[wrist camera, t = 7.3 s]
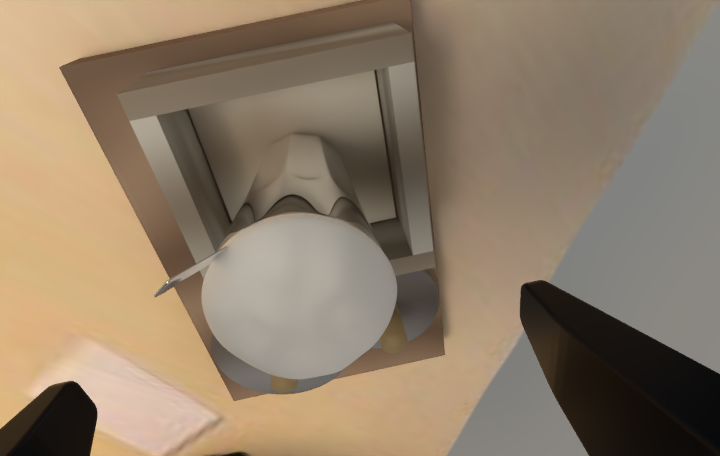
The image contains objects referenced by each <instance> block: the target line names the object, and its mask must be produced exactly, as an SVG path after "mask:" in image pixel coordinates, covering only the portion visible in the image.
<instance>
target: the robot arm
mask: <svg viewBox="0 0 720 456" xmlns="http://www.w3.org/2000/svg"><path fill="white" fill-rule="evenodd" d="M520 318H521V322H522V325H523V327H524V330H525V332H526V334H527V336H528V339H529V341H530V343H531V345H532V347H533V350H534V352H535V354H536V356H537V359H538V361H539V363H540V366H541V368H542V370H543V372H544V374H545V377H546V379H547V381H548V384H549V386H550V388H551V390H552V392H553V394H554V396H555V398H556V399H557V401H558V403H559V405H560V407H561V408H562V410H563V412H564V413H565V415H566V417H567V419H568V420H569V422H570V424H571V426H572V427H573V429H574V431H575V432H576V434H577V436H578V437H579V439H580V441H581V442H582V444H583V446H584V448H585V449H586V451H587V453H588V455H589V456H720V374H719V373H717V372H715V371H713V370H711V369H709V368H707V367H706V366H704V365H702V364H700V363H698V362H696V361H694V360H692V359H691V358H689V357H687V356H685V355H683V354H681V353H679V352H678V351H676V350H674V349H672V348H670V347H668V346H666V345H664V344H662V343H661V342H659V341H657V340H655V339H653V338H651V337H649V336H648V335H646V334H644V333H642V332H640V331H638V330H636V329H634V328H632V327H631V326H628V325H627V324H625V323H623V322H621V321H619V320H618V319H616V318H614V317H612V316H610V315H608V314H606V313H604V312H603V311H601V310H599V309H597V308H595V307H593V306H591V305H589V304H588V303H586V302H584V301H582V300H580V299H578V298H576V297H574V296H572V295H571V294H569V293H567V292H565V291H563V290H561V289H559V288H557V287H556V286H554V285H552V284H550V283H548V282H546V281H543V280H538V281H534V282H529V283H525V284H523V285H522V287H521V298H520ZM96 422H97V408H96V406H95V404H94V403H93V401H92V400H91V399H90V398H89V396H88V395H87V394H86V393H85V391H84V390H83V389H82V388H81V387H80V385H79V384H78V383H76V382H74V381H68V382H63V383H58V384H54V385H52V386H50V387H48V388H47V389H46V390H44V391H43V392H42V393H41V394H40V395H39V396H38V397H36V398H35V399H34V400H33V401H32V402H31V403H30V404H28V405H27V406H26V407H25V408H24V409H23V410H22V411H20V412H19V413H18V414H17V415H16V416H15V417H14V418H12V419H11V420H10V421H9V422H8V423H7V424H6V425H4V426H3V427H2V428H1V429H0V456H90V452H91V447H92V442H93V437H94V432H95V427H96ZM233 456H244V455H240V454H239V455H233Z"/></svg>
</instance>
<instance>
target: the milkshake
mask: <svg viewBox="0 0 720 456" xmlns="http://www.w3.org/2000/svg"><path fill="white" fill-rule="evenodd" d="M209 264H210V266H209V268H208V270H207V272H206V275H205V277H204V281H203V285H202V293H201V300H202V308H203V312H204V315H205V318H206V321H207V323H208V325H209V327H210V329H211V331H212V333H213V334H214V336H215V337H216V339H217V340H218V341H219V343H220V344H221V345H222V346H223V347H224V348H225V349H226V350H228V351H229V352H230V353H232V354H233V355H235V356H236V357H238V358H239V359H241V360H243V361H244V362H246V363H248V364H249V365H251V366H253V367H255V368H257V369H259V370H261V371H263V372H265V373H268V374H271V375H274V376H277V377H281V378H287V379H308V378H314V377H319V376H324V375H329V374H333V373H336V372H339V371H341V370H343V369H344V368H346V367H347V366H348V365H350V364H351V363H352V362H354V361H355V360H356V359H357V358H359V357H360V356H361V355H363V354H364V353H365V352H367V351H368V350H369V349H370V348H371V347H372V346H373V345H374V344H375V343H376V342H377V341H378V340H379V339H380V337H381V336H382V334H383V333H384V331H385V330H386V328H387V326H388V324H389V322H390V320H391V317H392V314H393V311H394V308H395V304H396V299H397V282H396V277H395V273H394V270H393V268H392V266H391V264H390V262H389V260H388V258H387V257H386V255H385V253H384V251H383V249H382V247H381V245H380V243H379V241H378V239H377V237H376V235H375V233H374V231H373V229H372V227H371V225H370V223H369V221H368V219H367V217H366V215H365V213H364V211H363V209H362V206H361V204H360V202H359V199H358V197H357V195H356V192H355V190H354V188H353V185H352V183H351V181H350V178H349V176H348V174H347V171H346V169H345V166H344V164H343V162H342V159H341V157H340V155H339V153H338V152H337V151H336V150H335V149H334V148H332V147H331V146H330V145H329V144H328V143H327V142H325V141H324V140H323V139H322V138H321V137H320V136H318V135H308V134H297V133H291V134H289V135H287V136H285V137H284V138H282V139H280V140H279V141H277V142H275V143H273V144H272V145H270V146H269V147H268V148H267V151H266V153H265V155H264V158H263V160H262V162H261V164H260V167H259V169H258V171H257V174H256V176H255V178H254V181H253V183H252V185H251V187H250V190H249V192H248V194H247V196H246V198H245V200H244V202H243V204H242V205H241V207H240V209H239V211H238V213H237V214H236V216H235V218H234V220H233V222H232V224H231V226H230V227H229V229H228V231H227V233H226V235H225V237H224V239H223V241H222V243H221V245H220V246H219V248H218V250H217V252H215V253H214V254H212V255H210V256H208V257H207V258H205V259H203V260H202V261H200V262H198V263H196V264H195V265H193V266H191V267H190V268H188V269H186V270H184V271H183V272H181V273H179V274H178V275H176V276H174V277H172V278H171V279H169V280H168V281H166V282H165V283H164V284H163V285H162V287H161V288H160V289H159V290H158V291H157V292H156V294H155V295H154V297H157V296H159V295H161V294H162V293H164V292H166V291H167V290H169V289H170V288H172V287H174V286H175V285H177V284H179V283H180V282H182V281H183V280H185V279H187V278H188V277H190V276H192V275H193V274H195V273H196V272H198V271H200V270H201V269H203V268H204V267H206V266H208V265H209Z"/></svg>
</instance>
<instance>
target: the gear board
mask: <svg viewBox="0 0 720 456" xmlns="http://www.w3.org/2000/svg"><path fill="white" fill-rule="evenodd" d="M59 68H60V70H61V72H62V74H63V75H64V77H65V79H66V81H67V83H68V85H69V87H70V89H71V91H72V93H73V95H74V96H75V98H76V100H77V102H78V104H79V106H80V108H81V110H82V112H83V114H84V116H85V117H86V119H87V121H88V123H89V125H90V127H91V129H92V131H93V133H94V135H95V137H96V138H97V140H98V142H99V144H100V146H101V148H102V150H103V152H104V154H105V156H106V158H107V159H108V161H109V163H110V165H111V167H112V169H113V171H114V173H115V175H116V177H117V179H118V180H119V182H120V184H121V186H122V188H123V190H124V192H125V194H126V196H127V198H128V200H129V201H130V203H131V205H132V207H133V209H134V211H135V213H136V215H137V217H138V219H139V221H140V222H141V224H142V226H143V228H144V230H145V232H146V234H147V236H148V238H149V240H150V242H151V243H152V245H153V247H154V249H155V251H156V253H157V255H158V257H159V259H160V261H161V263H162V264H163V266H164V268H165V270H166V272H167V274H168V276H169V278H170V279H171V278H172V277H174V276H176V275H178V274H179V273H181V272H183V271H184V270H186V269H188V268H190V267H191V266H193V265H195V264H196V263H198V262H200V261H202V260H203V259H205V258H207V257H208V256H210V255H212V254H214V253H215V252H217V250H218V248H219V246H220V245H221V243H222V241H223V239H224V237H225V235H226V233H227V231H228V229H229V227H230V226H231V224H232V222H233V220H234V218H235V216H236V214H237V213H238V211H239V209H240V207H241V205H242V204H243V202H244V200H245V198H246V196H247V194H248V192H249V190H250V187H251V185H252V183H253V181H254V178H255V176H256V174H257V171H258V169H259V167H260V164H261V162H262V160H263V158H264V155H265V153H266V151H267V148H268V147H269V146H270V145H272V144H273V143H275V142H277V141H279V140H280V139H282V138H284V137H285V136H287V135H289V134H291V133H297V134H308V135H318V136H320V137H321V138H322V139H323V140H324V141H325V142H327V143H328V144H329V145H330V146H331V147H332V148H334V149H335V150H336V151H337V152H338V153H339V155H340V157H341V159H342V162H343V164H344V166H345V169H346V171H347V174H348V176H349V178H350V181H351V183H352V185H353V188H354V190H355V192H356V195H357V197H358V199H359V202H360V204H361V206H362V209H363V211H364V213H365V215H366V217H367V219H368V221H369V223H370V225H371V227H372V229H373V231H374V233H375V235H376V237H377V239H378V241H379V243H380V245H381V247H382V249H383V251H384V253H385V255H386V257H387V258H388V260H389V262H390V264H391V266H392V268H393V270H394V273H395V277H396V282H397V299H396V304H395V308H394V311H393V314H392V317H391V320H390V322H389V324H388V326H387V328H386V330H385V331H384V333H383V334H382V336H381V337H380V339H379V340H378V341H377V342H376V343H375V344H374V345H373V346H372V347H371V348H370V349H369V350H368V351H367V352H365V353H364V354H363V355H361V356H360V357H359V358H357V359H356V360H355V361H354V362H352V363H351V364H350V365H348V366H347V367H346V368H344V369H343V370H341V371H339V372H336V373H333V374H329V375H324V376H319V377H314V378H308V379H287V378H281V377H277V376H274V375H271V374H268V373H265V372H263V371H261V370H259V369H257V368H255V367H253V366H251V365H249V364H248V363H246V362H244V361H243V360H241V359H239V358H238V357H236V356H235V355H233V354H232V353H230V352H229V351H228V350H226V349H225V348H224V347H223V346H222V345H221V344H220V343H219V341H218V340H217V339H216V337H215V336H214V334H213V333H212V331H211V329H210V327H209V325H208V323H207V321H206V318H205V315H204V312H203V308H202V300H201V293H202V285H203V281H204V277H205V275H206V272H207V270H208V268H209V266H210V264H209V265H208V266H206V267H204V268H203V269H201V270H200V271H198V272H196V273H195V274H193V275H192V276H190V277H188V278H187V279H185V280H183V281H182V282H180V283H179V284H177V285H175V286H174V287H175V289H176V291H177V293H178V295H179V297H180V299H181V301H182V303H183V305H184V306H185V308H186V310H187V312H188V314H189V316H190V318H191V320H192V322H193V324H194V326H195V327H196V329H197V331H198V333H199V335H200V337H201V339H202V341H203V343H204V345H205V347H206V348H207V350H208V352H209V354H210V356H211V358H212V360H213V362H214V364H215V366H216V368H217V369H218V371H219V373H220V375H221V377H222V379H223V381H224V383H225V385H226V387H227V389H228V390H229V392H230V394H231V396H232V398H233V400H234V401H237V400H241V399H246V398H250V397H255V396H259V395H264V394H294V393H300V392H304V391H308V390H312V389H314V388H317V387H320V386H322V385H324V384H326V383H328V382H329V381H331V380H333V379H337V378H342V377H346V376H351V375H356V374H360V373H365V372H369V371H374V370H378V369H383V368H388V367H392V366H397V365H401V364H406V363H410V362H415V361H420V360H424V359H429V358H433V357H438V356H442V355H445V350H444V340H443V329H442V319H441V309H440V299H439V288H438V278H437V268H436V258H435V248H434V237H433V227H432V217H431V207H430V197H429V186H428V176H427V166H426V156H425V145H424V135H423V125H422V115H421V105H420V94H419V84H418V74H417V64H416V54H415V43H414V33H413V23H412V13H411V2H410V0H362V1H358V2H353V3H348V4H343V5H338V6H333V7H328V8H324V9H319V10H314V11H309V12H304V13H299V14H295V15H290V16H285V17H280V18H275V19H270V20H265V21H261V22H256V23H251V24H246V25H241V26H236V27H232V28H227V29H222V30H217V31H212V32H207V33H202V34H198V35H193V36H188V37H183V38H178V39H173V40H169V41H164V42H159V43H154V44H149V45H144V46H139V47H135V48H130V49H125V50H120V51H115V52H110V53H106V54H101V55H96V56H91V57H86V58H81V59H78V60H75V61H73V62H70V63H68V64H66V65H63V66H61V67H59Z"/></svg>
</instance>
